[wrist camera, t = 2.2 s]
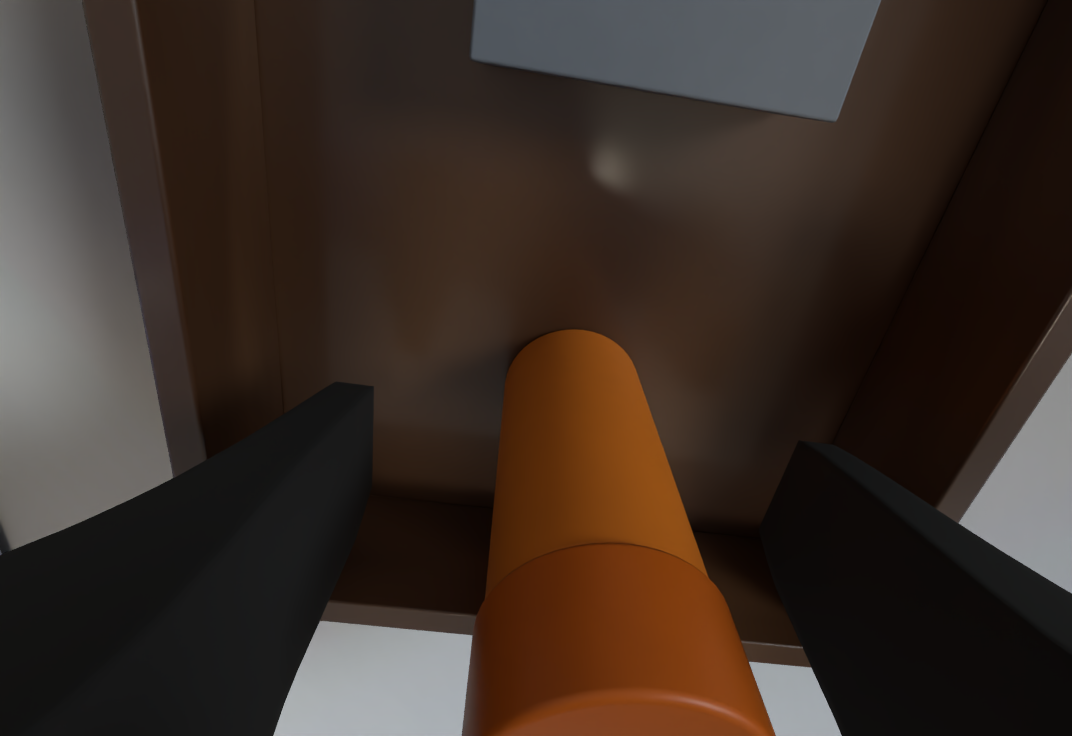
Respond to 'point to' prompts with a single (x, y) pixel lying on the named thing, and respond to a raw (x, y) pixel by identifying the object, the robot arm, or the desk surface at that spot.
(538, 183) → the box
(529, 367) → the glue stick
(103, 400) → the desk surface
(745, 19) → the eraser
